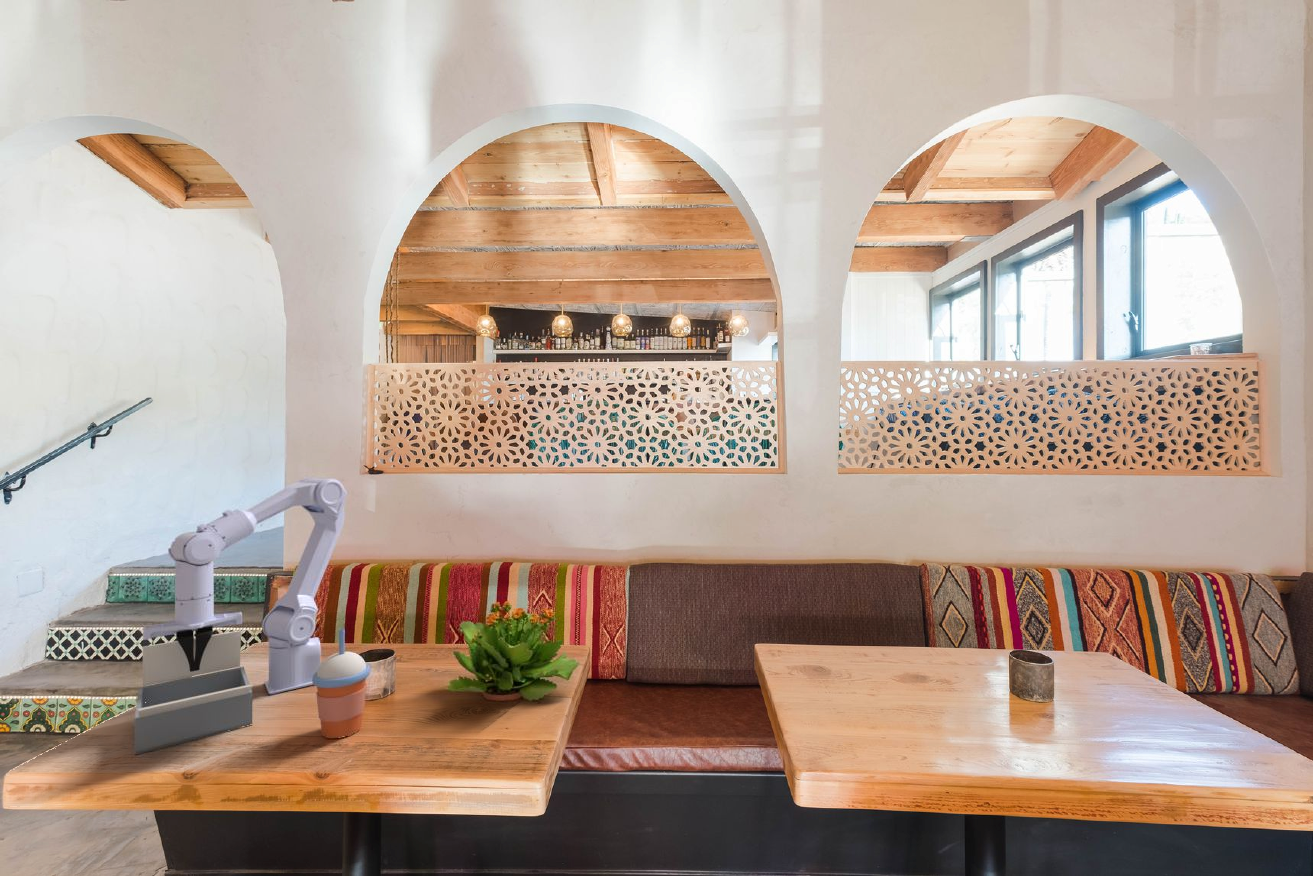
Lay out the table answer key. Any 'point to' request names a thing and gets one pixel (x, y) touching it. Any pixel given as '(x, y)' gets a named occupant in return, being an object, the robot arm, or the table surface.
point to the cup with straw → (341, 691)
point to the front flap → (193, 701)
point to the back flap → (173, 663)
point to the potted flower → (511, 656)
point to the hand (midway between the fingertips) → (194, 669)
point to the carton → (191, 710)
